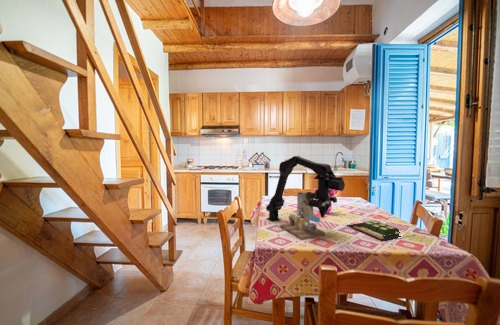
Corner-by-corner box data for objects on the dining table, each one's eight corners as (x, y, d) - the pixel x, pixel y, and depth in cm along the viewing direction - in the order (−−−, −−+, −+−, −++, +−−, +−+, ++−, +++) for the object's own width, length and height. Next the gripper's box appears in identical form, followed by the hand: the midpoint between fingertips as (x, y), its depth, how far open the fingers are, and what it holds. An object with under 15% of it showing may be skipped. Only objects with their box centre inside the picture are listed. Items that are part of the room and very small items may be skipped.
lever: (298, 214, 129) (298, 211, 129) (302, 213, 130) (302, 210, 130) (315, 222, 115) (315, 218, 115) (320, 221, 117) (320, 217, 117)
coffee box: (308, 214, 161) (309, 191, 160) (313, 216, 155) (314, 193, 154) (296, 215, 159) (297, 192, 158) (301, 217, 153) (301, 194, 152)
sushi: (345, 226, 138) (345, 220, 138) (375, 222, 147) (375, 216, 147) (382, 243, 115) (382, 235, 115) (415, 236, 124) (416, 229, 124)
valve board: (279, 227, 134) (280, 211, 134) (301, 223, 141) (302, 208, 140) (301, 240, 116) (301, 222, 116) (325, 235, 123) (325, 218, 122)
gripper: (319, 184, 132) (319, 210, 133) (299, 188, 120) (299, 217, 121) (337, 187, 124) (336, 215, 125) (318, 191, 112) (317, 222, 113)
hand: (322, 217), depth 121 cm, fingers closed
